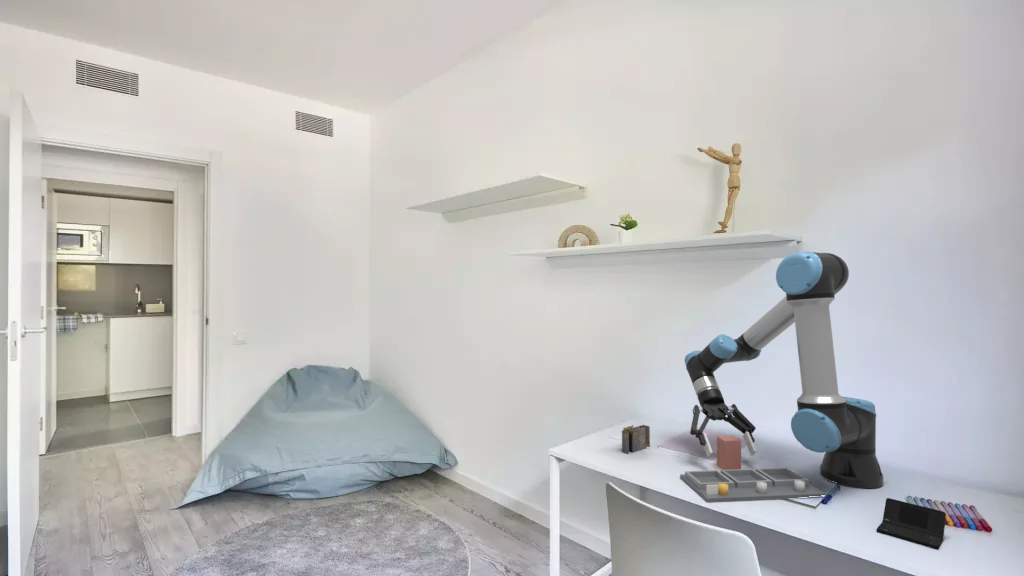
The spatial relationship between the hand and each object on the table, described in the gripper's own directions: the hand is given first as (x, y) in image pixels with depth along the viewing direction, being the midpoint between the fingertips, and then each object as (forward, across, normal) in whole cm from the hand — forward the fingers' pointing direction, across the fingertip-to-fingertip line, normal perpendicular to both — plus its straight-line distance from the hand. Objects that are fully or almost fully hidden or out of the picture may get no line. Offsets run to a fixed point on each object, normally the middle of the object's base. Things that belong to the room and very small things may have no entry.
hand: (732, 454), depth 155 cm
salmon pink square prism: (+2, 0, -5) cm, 5 cm away
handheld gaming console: (+33, -19, +26) cm, 46 cm away
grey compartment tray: (+12, +2, +6) cm, 14 cm away
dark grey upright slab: (-12, +22, -19) cm, 32 cm away
